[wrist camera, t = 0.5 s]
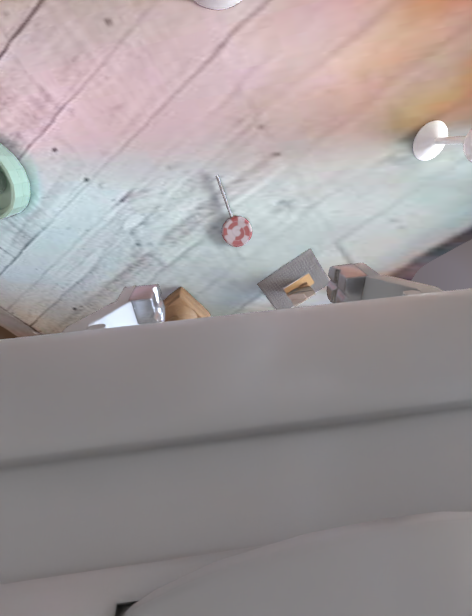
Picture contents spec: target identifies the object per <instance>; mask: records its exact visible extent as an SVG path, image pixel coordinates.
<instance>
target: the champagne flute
mask: <svg viewBox="0 0 472 616" xmlns="http://www.w3.org/2000/svg"><path fill="white" fill-rule="evenodd" d="M445 144H464V145H463V150H464V154H465V156H466V158H467V159H468V160H469V161H470V162H472V129H471V130H470V131H469V133H468V134H467V136H454V137H448V130H447V127H446V125H445V124H444V123H443V122H442V121H437V120H436V121H431V122H429V123H427V124H426V125H424V126H423V127H422V128H421V129H420V130H419V132H418V133H417V135H416V137H415V140H414V143H413V152H414V155H415V156H416V158H418V159H419V160H424V161H425V160H429V159H432V158H433V157H435V156H436V155H438V153H439V152H440V151H441V150H442V149H443V147H444V145H445Z"/></svg>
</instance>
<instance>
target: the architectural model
mask: <svg viewBox="0 0 472 616" xmlns="http://www.w3.org/2000/svg"><path fill="white" fill-rule="evenodd" d="M328 283H329V279H328V277H327V276H326V274H325V272H324V271H323V269H322V267H321V265H320V264H319V262H318V260H317V259H316V257H315V255H314V254H313V252H312V250H311V248H310V249H309V250H307V251H306V252H304V253H303V254H301V255H300V256H298V257H297V258H295V259H294V260H292V261H291V262H289V263H288V264H286V265H285V266H283V267H282V268H280V269H279V270H277V271H276V272H274V273H273V274H271V275H270V276H268V277H267V278H265V279H264V280H262V281H261V282H259V283H258V284H257V285H258V286H259V287H260V289H261V290H262V291H263V293H264V294H265V295H266V297H267V298H268V299H269V300H270V302H271V303H272V304H273V306H274V307H275V308H276V310H277V309H286V308H291V307H293V306H294V307H296V306H297V305H299V304H301V303H302V302H304V301H306V300H307V299H309V298H311V297H312V296H314V295H315V294H316V292H317V291H319V290H321V289H322V288H324V287H325V286H327V284H328Z"/></svg>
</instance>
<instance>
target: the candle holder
mask: <svg viewBox="0 0 472 616" xmlns="http://www.w3.org/2000/svg"><path fill="white" fill-rule="evenodd" d="M163 301H164V306H165V320H164V321H163V322H167V321H176V320H186V319H195V318H204V317H210V313H209V312H208V311H207V310H206V309H205V308H204V307H203V306H202V305H201V304H200V303H199V302H198V301H197V300H196V299H194V298H193V297H192V296H191V295H190V294H189V293H188V292H187V291H186V290H185V289H184V288H182V287H179V288H178V289H177V290H175V291H174V292H173V293H172V294H170V295H169V296H168V297H167V298H166V299H164V300H163Z"/></svg>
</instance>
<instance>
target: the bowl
mask: <svg viewBox="0 0 472 616" xmlns="http://www.w3.org/2000/svg"><path fill="white" fill-rule="evenodd" d="M0 170H1V172H2V173H3V175H4V177H5V179H6V188H5V190H4V192H3V193H1V194H0V220H3V219H6V218H9V217H12V216H14V215H16V214H19V213H21V212H22V211H23V210H24V209H25V207H26V206H27V205H28V203H29V199H30V195H31V191H30V182H29V179H28V177H27V174H26V172H25V170H24V168H23V166H22V165H21V164H20V162H19V161H18V159H17V158H16V157H15V155H14V154H13V153H11V152H10V151H9V150H8V149H7V148H6V147H5V146H4V145H2V144H1V143H0Z"/></svg>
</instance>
